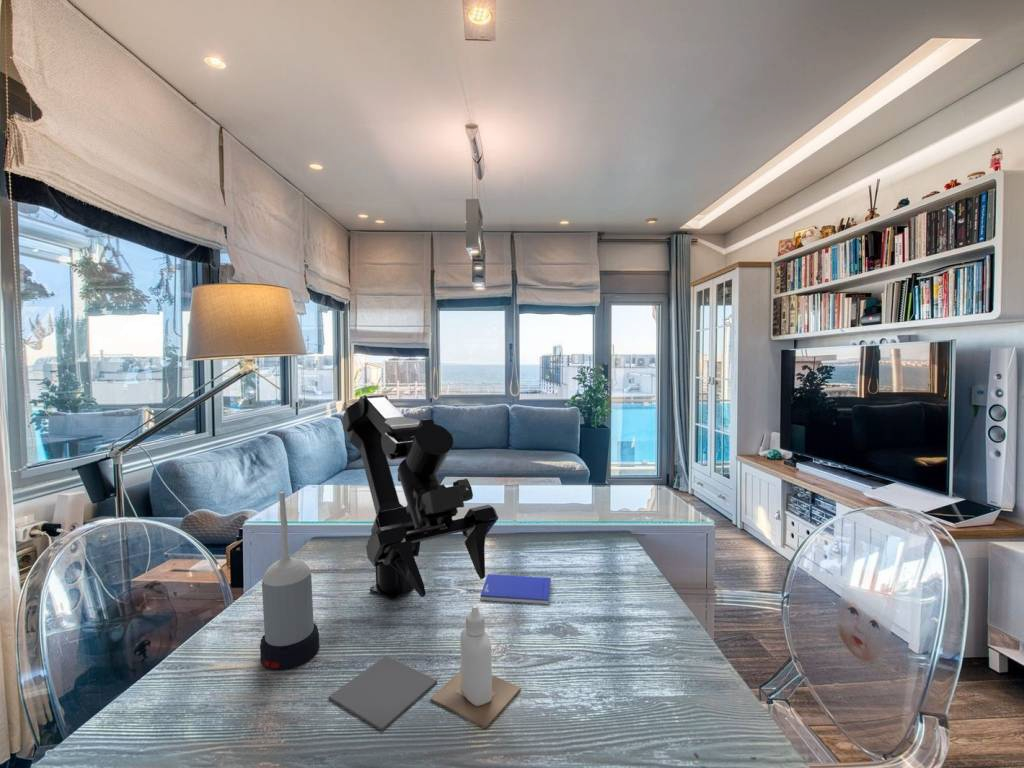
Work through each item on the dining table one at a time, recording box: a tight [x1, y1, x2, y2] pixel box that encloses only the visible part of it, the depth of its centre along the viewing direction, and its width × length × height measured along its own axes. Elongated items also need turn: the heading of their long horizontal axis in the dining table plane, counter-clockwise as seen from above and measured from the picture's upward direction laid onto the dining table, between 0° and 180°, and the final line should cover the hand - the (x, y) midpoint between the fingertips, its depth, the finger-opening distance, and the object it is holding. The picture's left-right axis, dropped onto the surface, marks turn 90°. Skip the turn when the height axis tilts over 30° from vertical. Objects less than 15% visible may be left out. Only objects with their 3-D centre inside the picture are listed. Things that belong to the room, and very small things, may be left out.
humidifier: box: [259, 490, 320, 672], centre depth 74 cm, size 8×8×25 cm
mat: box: [328, 655, 438, 731], centre depth 67 cm, size 10×10×1 cm
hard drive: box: [479, 573, 552, 605], centre depth 93 cm, size 2×8×12 cm
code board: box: [429, 670, 522, 730], centre depth 66 cm, size 9×8×1 cm
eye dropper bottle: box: [459, 604, 493, 706], centre depth 65 cm, size 4×6×12 cm
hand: (454, 586), depth 70 cm, fingers open, 9 cm apart
